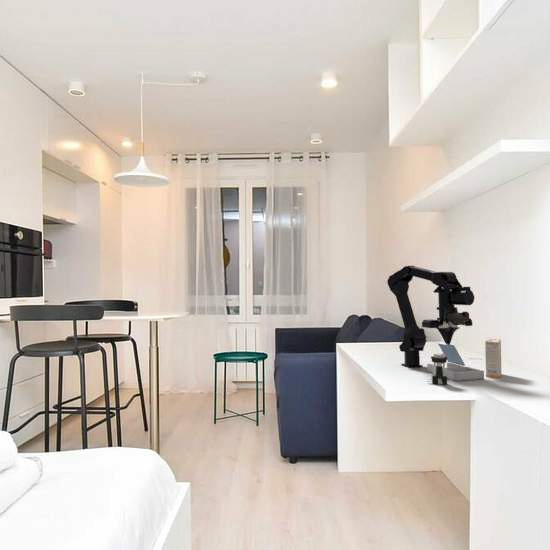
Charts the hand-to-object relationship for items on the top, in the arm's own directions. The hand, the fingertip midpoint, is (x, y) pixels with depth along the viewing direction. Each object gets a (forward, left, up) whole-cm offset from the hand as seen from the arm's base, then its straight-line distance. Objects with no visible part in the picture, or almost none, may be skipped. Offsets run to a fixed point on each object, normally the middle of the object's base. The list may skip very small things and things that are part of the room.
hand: (447, 345), depth 174 cm
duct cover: (0, +1, -3) cm, 4 cm away
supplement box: (+9, +13, -11) cm, 19 cm away
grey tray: (+4, -1, -10) cm, 11 cm away
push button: (+15, -15, -11) cm, 24 cm away
